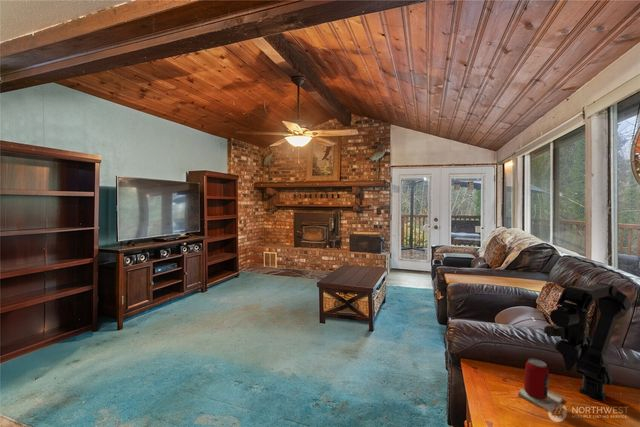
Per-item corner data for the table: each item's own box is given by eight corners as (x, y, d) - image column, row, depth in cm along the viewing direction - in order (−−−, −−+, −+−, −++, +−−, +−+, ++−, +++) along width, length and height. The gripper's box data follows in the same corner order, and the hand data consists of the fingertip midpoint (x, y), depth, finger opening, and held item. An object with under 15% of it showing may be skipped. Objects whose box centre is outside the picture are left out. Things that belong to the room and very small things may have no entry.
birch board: (529, 384, 113) (529, 381, 113) (563, 399, 105) (563, 396, 105) (516, 395, 106) (516, 392, 106) (551, 413, 97) (551, 409, 97)
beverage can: (551, 401, 102) (554, 368, 101) (532, 400, 102) (534, 366, 102) (538, 389, 108) (540, 357, 108) (519, 388, 109) (521, 356, 108)
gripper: (556, 311, 114) (553, 350, 115) (538, 320, 103) (535, 363, 104) (594, 321, 105) (591, 363, 106) (579, 332, 94) (575, 379, 95)
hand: (572, 366), depth 103 cm, fingers open, 9 cm apart
